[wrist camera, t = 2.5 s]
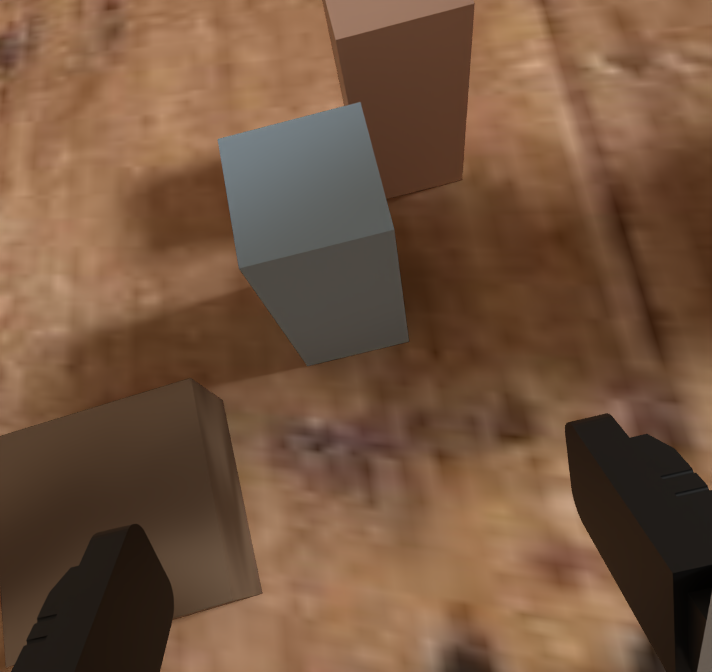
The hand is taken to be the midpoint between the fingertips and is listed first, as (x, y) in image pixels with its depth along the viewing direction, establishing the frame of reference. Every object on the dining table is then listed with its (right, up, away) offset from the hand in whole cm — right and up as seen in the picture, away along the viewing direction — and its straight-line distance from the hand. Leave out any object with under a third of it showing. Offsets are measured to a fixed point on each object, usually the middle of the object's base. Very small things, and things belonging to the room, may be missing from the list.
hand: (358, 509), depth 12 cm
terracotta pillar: (+2, +12, +18) cm, 22 cm away
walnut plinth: (-8, -4, +14) cm, 17 cm away
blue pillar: (0, +4, +16) cm, 17 cm away
